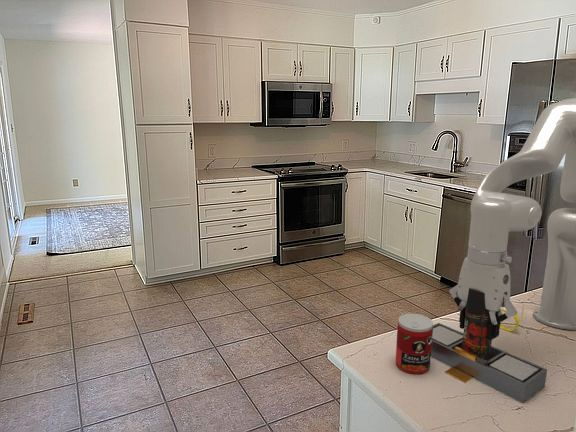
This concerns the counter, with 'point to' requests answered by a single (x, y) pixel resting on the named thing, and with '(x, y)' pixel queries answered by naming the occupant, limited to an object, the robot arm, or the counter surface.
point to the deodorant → (476, 325)
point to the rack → (487, 366)
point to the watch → (515, 319)
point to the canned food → (414, 343)
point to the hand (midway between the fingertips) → (478, 331)
